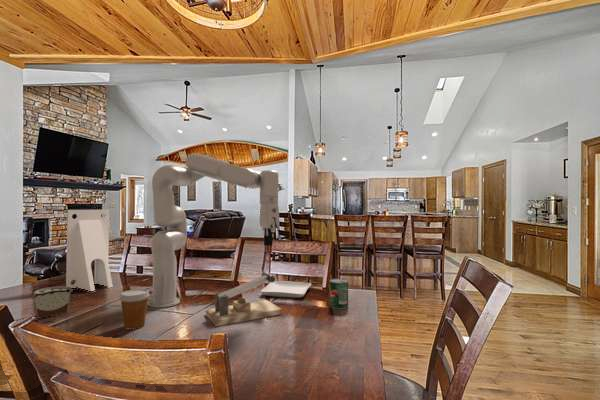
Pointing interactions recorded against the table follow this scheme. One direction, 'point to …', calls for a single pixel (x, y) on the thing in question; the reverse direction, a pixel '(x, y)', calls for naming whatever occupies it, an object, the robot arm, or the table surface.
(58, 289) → the food container
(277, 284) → the salad plate
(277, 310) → the press base
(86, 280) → the white arched stand
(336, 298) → the canned tomato
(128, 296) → the disposable coffee cup
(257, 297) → the table surface
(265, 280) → the press lever
